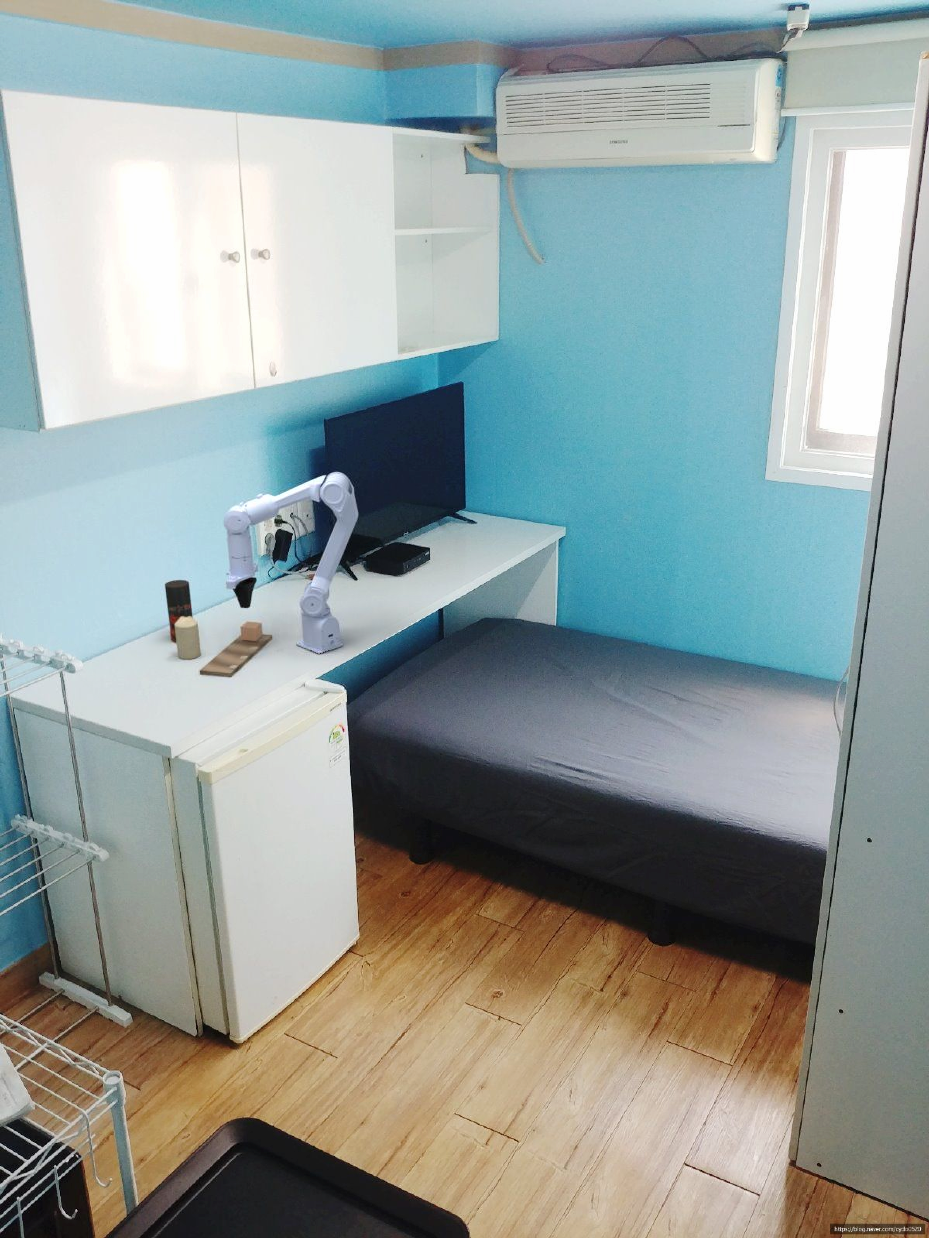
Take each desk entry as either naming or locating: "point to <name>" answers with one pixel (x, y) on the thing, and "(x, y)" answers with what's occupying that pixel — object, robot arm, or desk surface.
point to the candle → (187, 638)
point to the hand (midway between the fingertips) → (245, 607)
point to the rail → (234, 656)
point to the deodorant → (177, 603)
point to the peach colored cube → (251, 631)
